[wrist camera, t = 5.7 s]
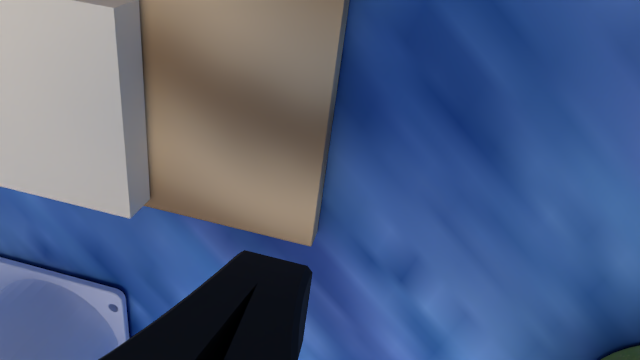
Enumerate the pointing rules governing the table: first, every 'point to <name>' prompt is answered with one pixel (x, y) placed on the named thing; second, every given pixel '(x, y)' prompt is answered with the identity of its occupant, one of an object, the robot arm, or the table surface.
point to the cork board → (241, 109)
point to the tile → (74, 103)
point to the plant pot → (625, 354)
